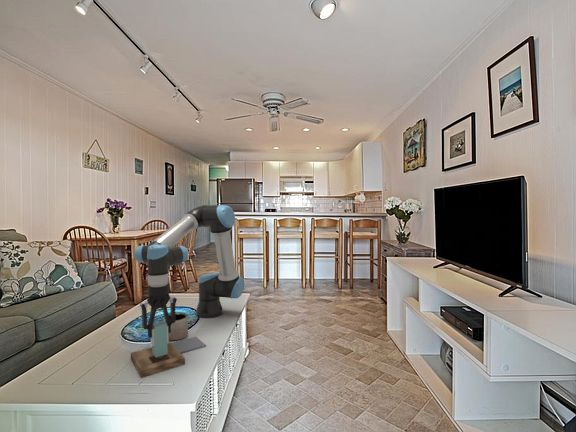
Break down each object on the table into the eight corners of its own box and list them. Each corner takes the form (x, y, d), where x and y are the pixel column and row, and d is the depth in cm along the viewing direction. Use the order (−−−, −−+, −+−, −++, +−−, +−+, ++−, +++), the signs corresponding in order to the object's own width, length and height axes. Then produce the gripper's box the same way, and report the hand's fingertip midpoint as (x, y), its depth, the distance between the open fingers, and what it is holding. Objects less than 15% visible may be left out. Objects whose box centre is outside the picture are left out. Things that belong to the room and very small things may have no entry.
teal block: (164, 349, 127) (163, 320, 127) (167, 354, 124) (166, 324, 123) (152, 353, 125) (151, 323, 124) (155, 357, 121) (154, 326, 121)
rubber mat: (195, 337, 149) (195, 336, 149) (206, 346, 140) (206, 345, 140) (170, 344, 142) (170, 343, 142) (178, 354, 133) (178, 352, 133)
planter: (158, 338, 148) (158, 318, 148) (176, 330, 158) (176, 311, 158) (175, 343, 143) (175, 322, 143) (192, 334, 153) (192, 315, 153)
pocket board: (170, 348, 138) (170, 342, 138) (184, 364, 124) (184, 358, 124) (130, 358, 129) (130, 352, 129) (141, 377, 114) (141, 370, 114)
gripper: (177, 279, 131) (178, 334, 132) (131, 286, 121) (133, 346, 122) (184, 282, 125) (185, 340, 126) (136, 290, 115) (137, 353, 116)
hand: (159, 343), depth 124 cm, fingers closed on teal block, 4 cm apart
